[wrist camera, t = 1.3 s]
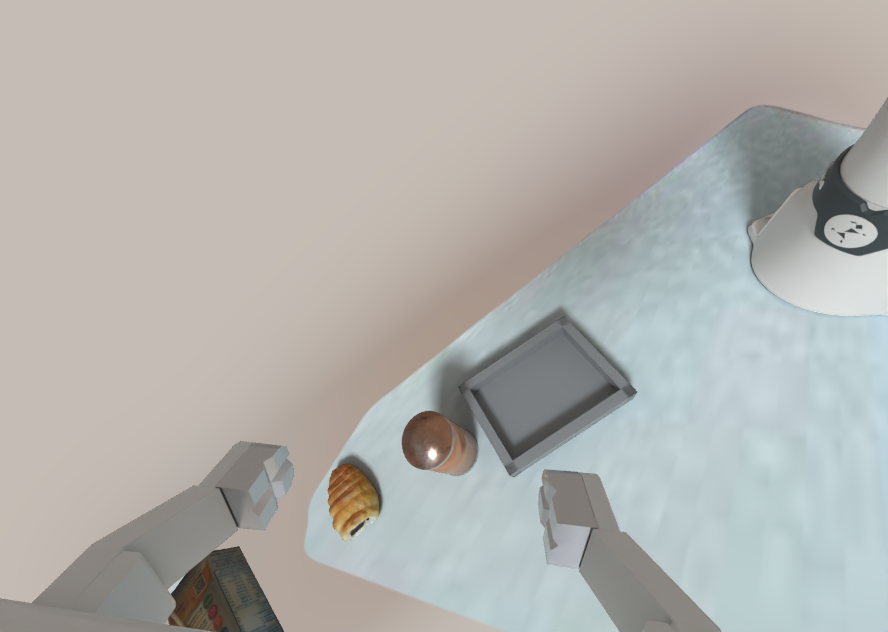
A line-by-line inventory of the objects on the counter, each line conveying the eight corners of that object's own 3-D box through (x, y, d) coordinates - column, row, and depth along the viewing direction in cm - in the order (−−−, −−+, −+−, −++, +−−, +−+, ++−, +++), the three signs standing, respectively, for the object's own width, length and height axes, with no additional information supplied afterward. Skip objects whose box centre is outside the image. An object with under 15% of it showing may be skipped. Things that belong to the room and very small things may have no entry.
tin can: (464, 419, 46) (437, 400, 37) (486, 459, 42) (463, 449, 33) (429, 443, 46) (394, 429, 37) (448, 485, 43) (414, 481, 34)
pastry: (326, 483, 49) (309, 482, 46) (360, 453, 49) (346, 450, 46) (350, 545, 43) (333, 548, 40) (389, 511, 44) (375, 511, 41)
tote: (564, 325, 48) (564, 316, 45) (633, 398, 40) (637, 391, 38) (463, 392, 48) (458, 386, 45) (513, 477, 40) (509, 475, 38)
